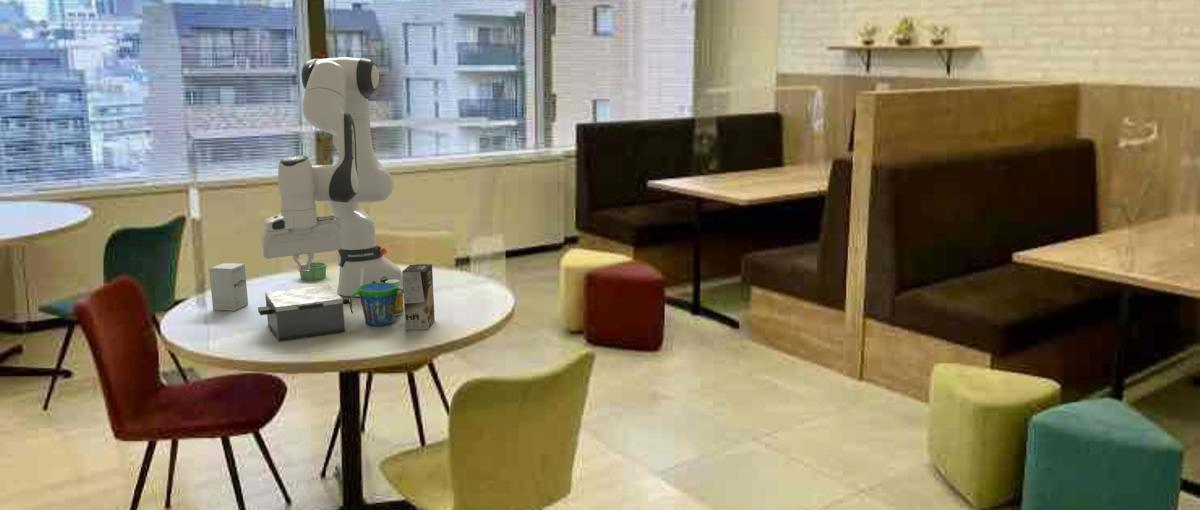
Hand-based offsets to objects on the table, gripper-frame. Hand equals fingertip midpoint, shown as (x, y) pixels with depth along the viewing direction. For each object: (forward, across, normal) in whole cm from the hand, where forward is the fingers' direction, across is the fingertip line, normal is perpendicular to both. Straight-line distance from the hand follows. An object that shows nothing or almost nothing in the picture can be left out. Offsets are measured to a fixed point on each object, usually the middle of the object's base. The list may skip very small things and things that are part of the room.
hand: (304, 270), depth 257 cm
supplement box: (+17, +16, -37) cm, 44 cm away
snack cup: (+17, -19, +1) cm, 25 cm away
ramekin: (+18, -14, -64) cm, 68 cm away
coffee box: (+17, -28, +9) cm, 34 cm away
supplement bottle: (+17, -24, -6) cm, 31 cm away
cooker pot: (+17, 0, -3) cm, 17 cm away
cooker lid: (+9, 0, -2) cm, 9 cm away
